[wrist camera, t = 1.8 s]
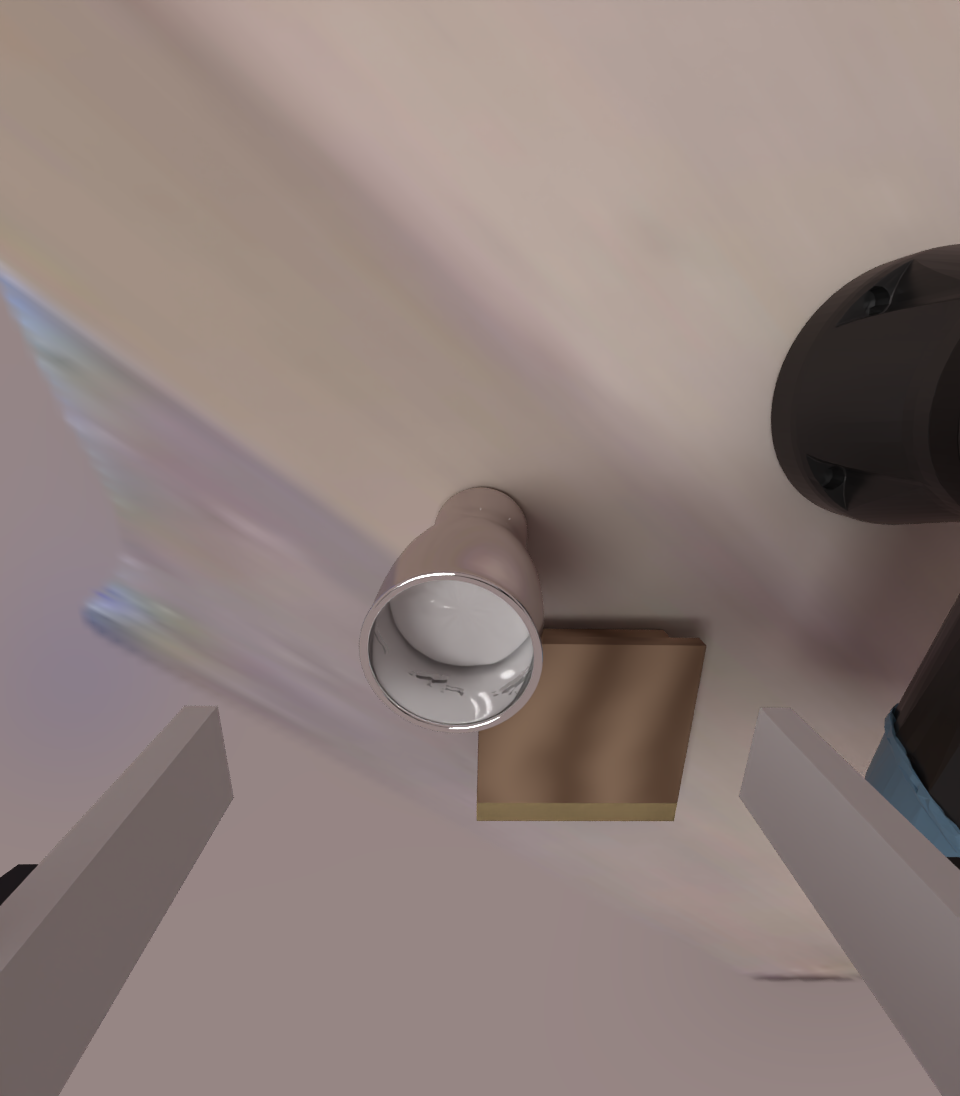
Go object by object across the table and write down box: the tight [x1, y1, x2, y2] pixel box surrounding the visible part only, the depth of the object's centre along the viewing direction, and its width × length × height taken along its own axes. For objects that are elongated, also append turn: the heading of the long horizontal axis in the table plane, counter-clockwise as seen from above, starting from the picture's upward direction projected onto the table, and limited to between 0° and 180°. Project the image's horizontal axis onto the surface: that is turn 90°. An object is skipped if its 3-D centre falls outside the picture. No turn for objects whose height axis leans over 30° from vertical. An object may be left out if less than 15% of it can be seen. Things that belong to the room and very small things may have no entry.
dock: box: [477, 629, 706, 821], centre depth 33 cm, size 14×14×4 cm
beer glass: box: [359, 487, 544, 733], centre depth 24 cm, size 7×7×15 cm
